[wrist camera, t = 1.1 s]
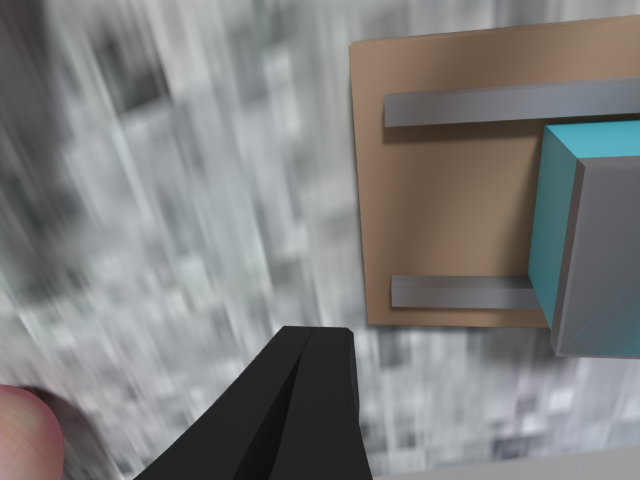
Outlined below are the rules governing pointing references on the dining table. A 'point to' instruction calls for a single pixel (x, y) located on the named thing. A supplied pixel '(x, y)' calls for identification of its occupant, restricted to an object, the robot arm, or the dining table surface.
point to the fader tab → (589, 238)
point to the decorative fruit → (28, 437)
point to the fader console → (472, 158)
